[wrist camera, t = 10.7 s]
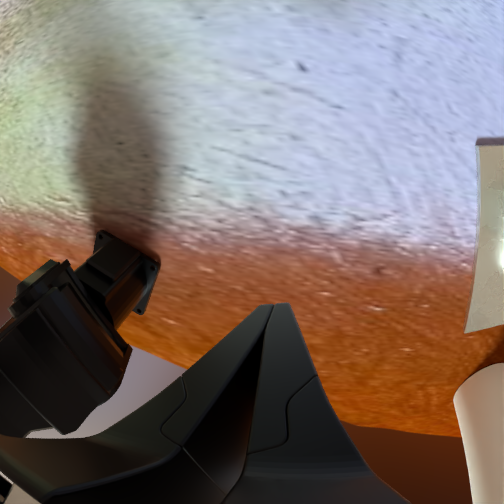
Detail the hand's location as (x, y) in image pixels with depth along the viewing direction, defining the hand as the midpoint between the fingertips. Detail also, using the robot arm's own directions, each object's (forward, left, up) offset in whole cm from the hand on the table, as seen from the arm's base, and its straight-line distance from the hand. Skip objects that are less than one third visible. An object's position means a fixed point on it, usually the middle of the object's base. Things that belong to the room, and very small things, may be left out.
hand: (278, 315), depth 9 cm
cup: (-7, -30, -13) cm, 34 cm away
